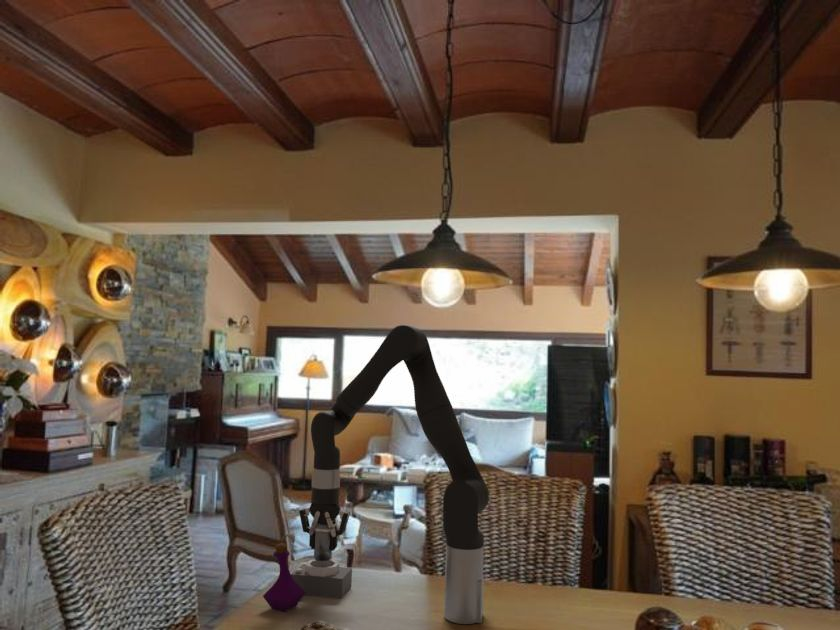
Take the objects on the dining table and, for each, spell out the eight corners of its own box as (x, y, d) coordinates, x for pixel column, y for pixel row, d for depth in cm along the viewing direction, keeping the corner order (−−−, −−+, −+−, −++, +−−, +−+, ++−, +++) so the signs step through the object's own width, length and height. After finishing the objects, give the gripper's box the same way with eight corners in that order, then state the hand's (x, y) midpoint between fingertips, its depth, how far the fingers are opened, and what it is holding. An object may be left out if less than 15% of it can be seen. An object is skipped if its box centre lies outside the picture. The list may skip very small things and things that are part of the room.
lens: (334, 556, 173) (335, 521, 173) (328, 561, 168) (330, 526, 168) (316, 554, 173) (318, 520, 174) (310, 560, 169) (312, 525, 169)
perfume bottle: (261, 609, 155) (265, 534, 157) (281, 600, 162) (285, 528, 163) (285, 616, 152) (289, 539, 153) (305, 606, 159) (308, 532, 160)
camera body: (351, 586, 173) (352, 560, 174) (341, 598, 164) (342, 570, 165) (302, 582, 176) (303, 556, 176) (290, 593, 167) (291, 566, 167)
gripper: (355, 484, 175) (352, 547, 173) (305, 480, 177) (302, 543, 176) (347, 489, 167) (344, 555, 166) (295, 485, 170) (292, 551, 168)
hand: (323, 549), depth 171 cm, fingers closed on lens, 4 cm apart
